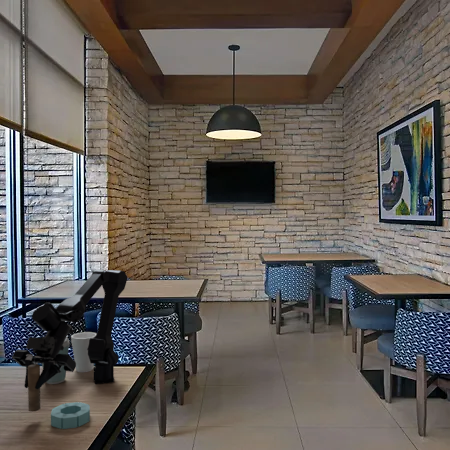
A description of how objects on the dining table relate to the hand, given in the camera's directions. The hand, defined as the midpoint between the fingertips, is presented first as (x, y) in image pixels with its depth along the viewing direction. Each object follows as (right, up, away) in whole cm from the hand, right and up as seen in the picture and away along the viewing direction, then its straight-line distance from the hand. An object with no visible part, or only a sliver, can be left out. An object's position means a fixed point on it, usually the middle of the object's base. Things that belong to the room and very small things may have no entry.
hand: (30, 388), depth 134 cm
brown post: (0, -7, +2) cm, 7 cm away
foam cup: (+2, -9, +45) cm, 46 cm away
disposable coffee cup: (-5, -9, +32) cm, 34 cm away
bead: (+11, -10, +2) cm, 15 cm away
